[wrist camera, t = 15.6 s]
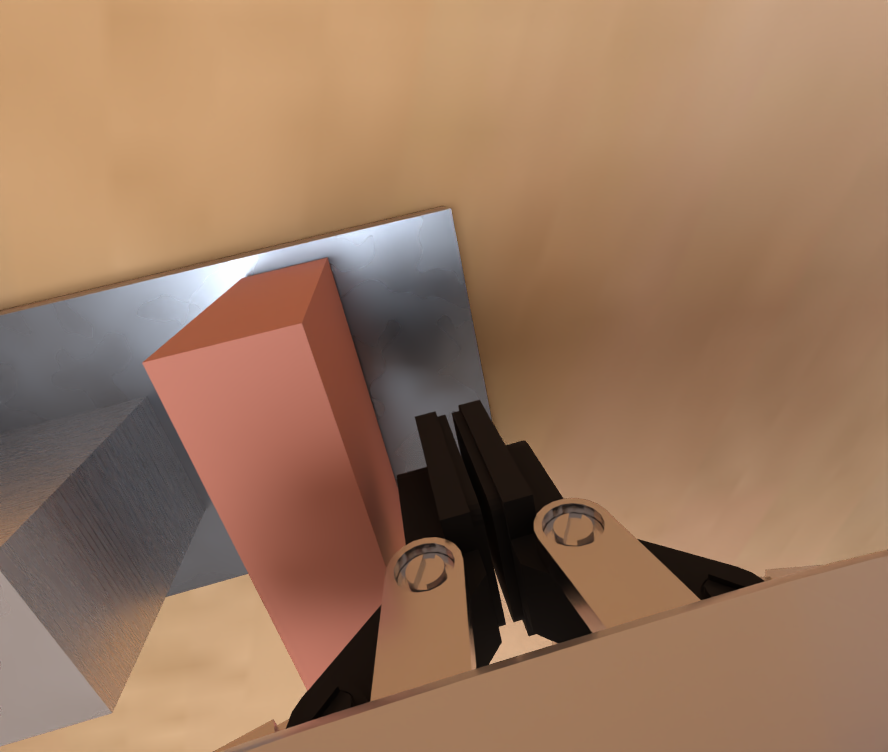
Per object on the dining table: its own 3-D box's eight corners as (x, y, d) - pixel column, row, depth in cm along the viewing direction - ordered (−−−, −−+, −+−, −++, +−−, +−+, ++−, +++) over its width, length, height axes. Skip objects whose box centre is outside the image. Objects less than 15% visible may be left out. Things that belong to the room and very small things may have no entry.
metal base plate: (497, 478, 20) (584, 666, 12) (-49, 630, 19) (-340, 953, 11) (443, 205, 16) (525, 232, 8) (-279, 376, 14) (-1046, 614, 6)
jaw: (408, 522, 18) (435, 711, 12) (331, 544, 18) (317, 748, 11) (327, 257, 14) (302, 323, 8) (228, 281, 14) (115, 368, 7)
